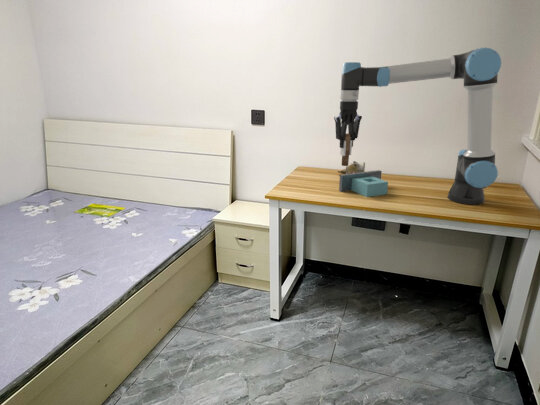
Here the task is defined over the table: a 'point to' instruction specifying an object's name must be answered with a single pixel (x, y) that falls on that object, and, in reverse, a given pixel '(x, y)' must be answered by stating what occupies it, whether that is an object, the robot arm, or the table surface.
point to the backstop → (346, 179)
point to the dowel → (346, 158)
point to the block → (369, 186)
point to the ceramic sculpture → (353, 168)
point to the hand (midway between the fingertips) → (345, 154)
